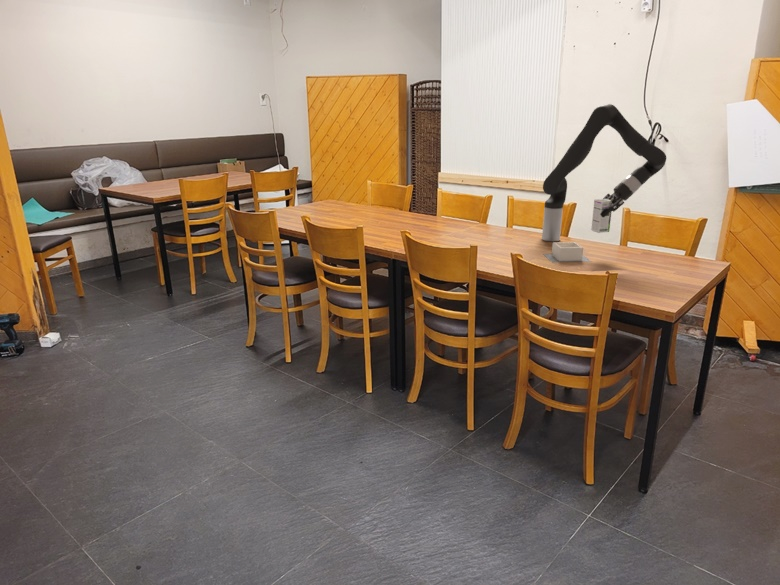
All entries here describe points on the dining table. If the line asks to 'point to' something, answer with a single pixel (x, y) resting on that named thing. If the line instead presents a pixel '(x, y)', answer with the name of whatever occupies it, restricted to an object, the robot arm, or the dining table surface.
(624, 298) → the dining table surface
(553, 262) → the slate board
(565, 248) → the ceramic holder
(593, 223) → the syrup box
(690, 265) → the dining table surface
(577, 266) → the dining table surface
